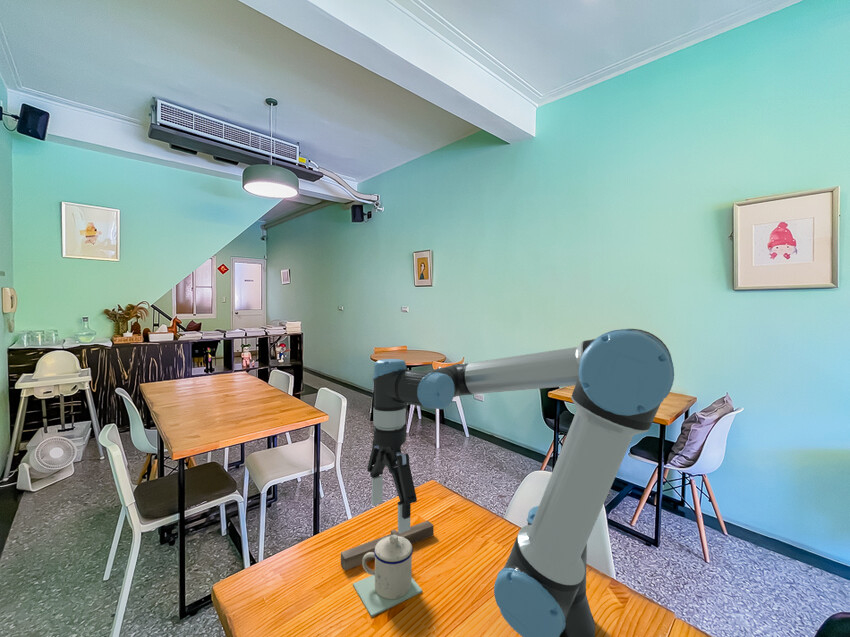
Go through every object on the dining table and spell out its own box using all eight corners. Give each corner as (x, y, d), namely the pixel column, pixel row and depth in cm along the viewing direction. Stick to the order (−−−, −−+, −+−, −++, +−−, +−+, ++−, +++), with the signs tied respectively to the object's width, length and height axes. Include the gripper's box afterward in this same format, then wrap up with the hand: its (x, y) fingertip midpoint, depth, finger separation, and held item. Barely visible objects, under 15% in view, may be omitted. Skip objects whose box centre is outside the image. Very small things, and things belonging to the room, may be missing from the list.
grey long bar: (443, 545, 99) (443, 523, 99) (352, 583, 84) (352, 558, 84) (427, 530, 106) (428, 510, 106) (340, 563, 91) (340, 540, 91)
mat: (422, 591, 82) (422, 590, 82) (371, 617, 75) (371, 615, 75) (400, 564, 91) (400, 563, 91) (352, 585, 84) (352, 583, 84)
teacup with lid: (414, 573, 87) (415, 526, 87) (409, 602, 78) (410, 550, 78) (367, 569, 89) (367, 523, 88) (356, 598, 79) (357, 546, 79)
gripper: (433, 437, 74) (433, 538, 74) (380, 411, 95) (380, 490, 95) (401, 444, 70) (401, 551, 70) (354, 415, 91) (354, 497, 91)
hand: (389, 516), depth 82 cm, fingers open, 13 cm apart
